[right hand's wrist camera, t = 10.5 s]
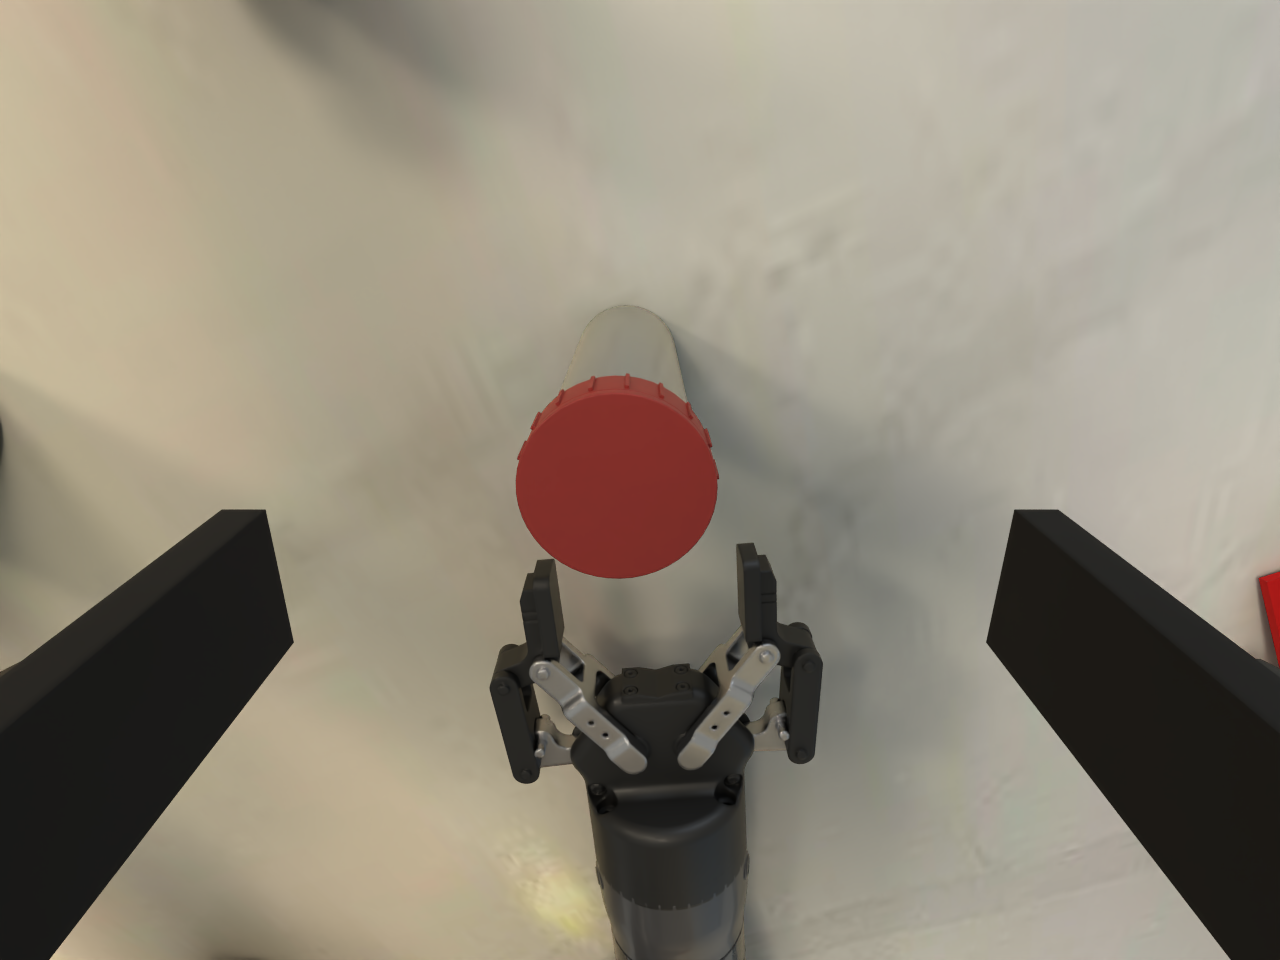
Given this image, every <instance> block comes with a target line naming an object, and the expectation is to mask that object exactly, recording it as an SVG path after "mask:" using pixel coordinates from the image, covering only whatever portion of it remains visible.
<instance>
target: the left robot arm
mask: <svg viewBox="0 0 1280 960" xmlns="http://www.w3.org/2000/svg"><path fill="white" fill-rule="evenodd" d="M736 553H737V582H738V612H739V617H740V621H741V626H740V627H739V628H738V630H737V631H736V632H735V633H734V635H733V636H732V637H731V638H730V640H729V641H728V642H727V643H726V644H720V645H719V646H717V648H716V649H715V650H714V651H713V653H712V654H711V655H710V656H709V658H708V659H707V660H706V661H705V663H704V664H703V665H702V666H701V667H700V669H699V670H698V671H697V670H694V669H690V665H689V664H677V665H671V666H667V667H664V668H661V669H657V670H653V669H647V668H640V667H636V668H623V669H622V674H620V675H617V676H614V675H613V674H612V673H611V672H610V671H609V670H608V669H606V668H605V667H604V666H603V665H602V664H601V663H600V662H599V661H598V660H596V659H595V658H594V657H593V656H592V655H590V654H586V655H584V654H582V653H581V652H580V651H579V650H577V649H576V648H575V647H574V646H573V645H572V644H571V643H570V642H568V641H567V640H566V639H565V638H564V637H563V633H564V621H563V614H562V607H561V600H560V593H559V586H558V579H557V572H556V565H555V560H554V559H544V560H537V563H536V567H535V571H534V573H528V574H527V577H526V580H525V584H524V588H523V591H522V595H521V599H520V605H521V611H522V617H523V623H524V629H525V635H526V641H527V642H526V643H524V644H522V645H520V646H518V645H515V644H508V645H505V646H504V647H502V649H501V650H500V653H499V656H498V659H497V663H496V666H495V670H494V673H493V677H492V681H491V684H490V692H491V696H492V700H493V703H494V707H495V711H496V714H497V718H498V722H499V725H500V729H501V733H502V736H503V740H504V744H505V747H506V751H507V755H508V759H509V762H510V766H511V770H512V773H513V776H514V778H515V779H516V780H517V781H518V782H520V783H524V784H529V783H533V782H535V781H536V780H537V779H538V777H539V773H540V768H541V767H549V766H557V765H566V764H573V765H574V767H575V768H576V769H577V770H578V771H579V772H580V774H581V775H582V776H583V778H584V780H585V783H586V789H587V795H588V802H589V809H590V816H591V823H592V830H593V837H594V845H595V852H596V859H597V861H596V867H595V868H596V875H597V879H598V883H599V885H600V887H601V892H602V897H603V902H604V905H605V908H606V911H607V914H608V917H609V919H610V922H611V928H612V936H613V943H614V950H615V957H616V960H746V958H745V939H744V906H745V901H746V894H747V877H748V872H749V854H748V851H747V847H746V815H745V786H744V769H745V765H746V763H747V761H748V760H749V758H750V757H751V755H752V753H753V751H771V750H787V754H788V757H789V759H790V760H791V761H792V762H794V763H796V764H804V763H807V762H809V761H810V760H812V758H813V757H814V754H815V744H816V734H817V723H818V712H819V701H820V690H821V679H822V669H823V663H822V660H821V657H820V655H819V653H818V652H817V650H816V648H815V645H814V643H813V640H812V635H811V632H810V630H809V628H808V626H807V625H805V624H804V623H800V622H795V623H792V624H790V625H783V624H780V623H778V622H777V603H776V601H777V594H776V579H775V576H774V573H773V571H772V568H771V565H770V563H769V561H768V559H767V557H766V555H757V552H756V549H755V546H754V543H743V544H737V545H736ZM776 665H780V666H781V678H780V694H779V698H772V699H771V700H770V704H769V705H768V706H767V708H766V709H765V713H764V715H763V717H762V718H761V719H759V720H757V721H754V722H750V720H749V718H748V717H747V715H746V714H745V713H744V712H745V711H746V710H747V708H748V707H749V706H750V704H751V702H752V700H753V696H754V692H755V690H756V688H757V687H758V686H759V684H760V683H761V682H762V681H763V680H764V679H765V677H766V676H767V675H768V674H769V673H770V672H771V670H772V669H773V668H774V667H775V666H776ZM533 683H536V684H537V685H538V686H540V687H541V688H542V689H543V690H544V691H545V692H547V693H548V694H549V695H550V696H551V697H552V698H554V699H555V700H556V701H557V702H558V703H559V704H560V705H561V708H562V711H563V713H564V715H565V717H566V718H567V719H568V720H569V721H570V722H572V723H573V724H574V725H575V728H574V730H573V733H572V735H566V734H563V733H561V732H559V731H558V730H557V728H556V726H555V724H554V723H553V722H552V721H551V720H550V716H549V715H547V714H543V715H541V716H540V712H539V708H538V704H537V700H536V696H535V691H534V687H533ZM595 696H596V698H595Z"/></svg>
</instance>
